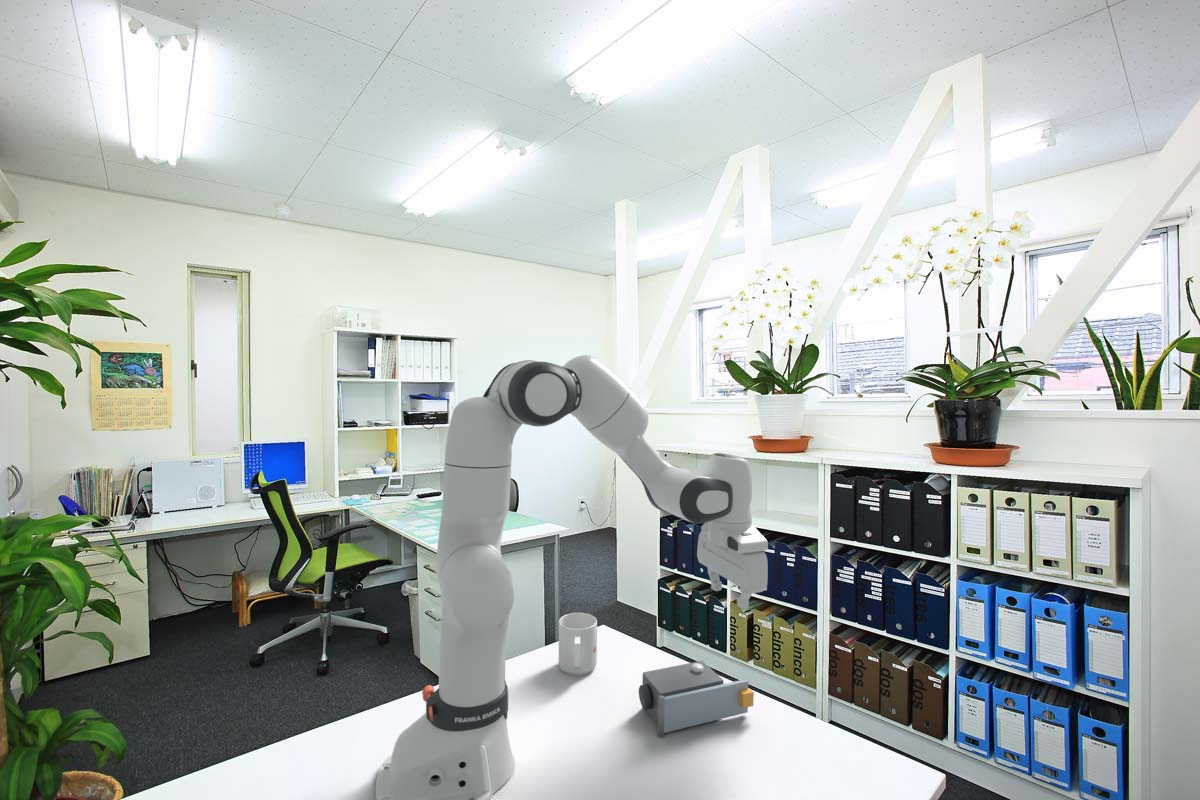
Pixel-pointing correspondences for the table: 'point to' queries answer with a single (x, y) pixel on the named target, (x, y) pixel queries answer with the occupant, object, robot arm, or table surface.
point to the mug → (577, 643)
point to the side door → (703, 706)
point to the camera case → (674, 684)
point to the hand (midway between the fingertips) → (729, 598)
